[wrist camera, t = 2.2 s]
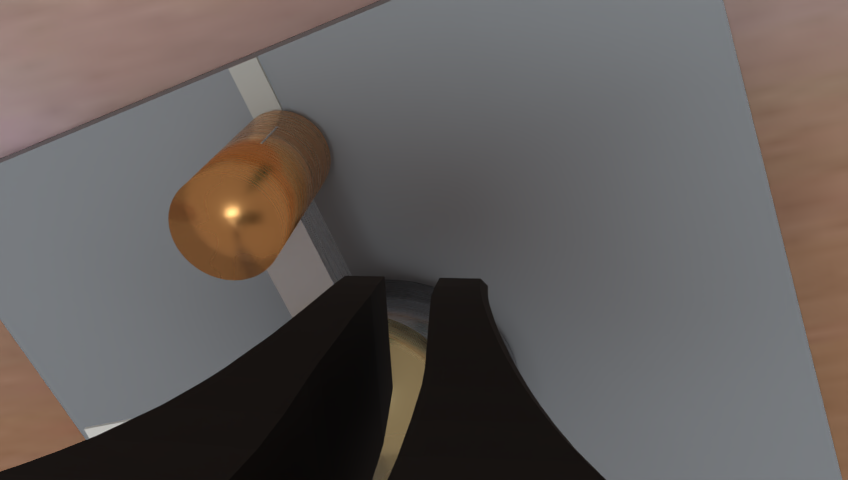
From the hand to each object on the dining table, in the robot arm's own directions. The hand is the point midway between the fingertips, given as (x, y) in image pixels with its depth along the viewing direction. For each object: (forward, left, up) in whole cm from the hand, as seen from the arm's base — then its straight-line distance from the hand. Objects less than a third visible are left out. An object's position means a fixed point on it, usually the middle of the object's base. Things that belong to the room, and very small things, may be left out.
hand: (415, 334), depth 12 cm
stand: (-6, +4, -10) cm, 12 cm away
